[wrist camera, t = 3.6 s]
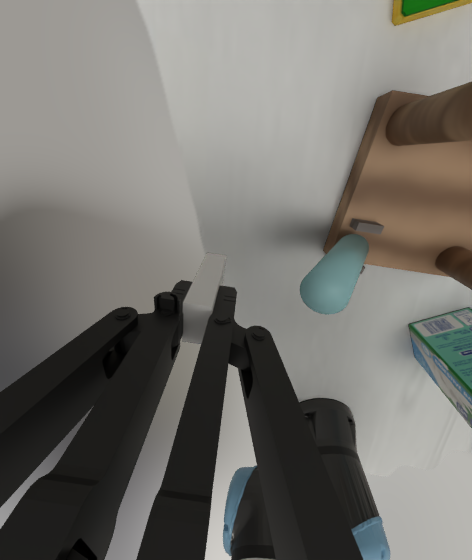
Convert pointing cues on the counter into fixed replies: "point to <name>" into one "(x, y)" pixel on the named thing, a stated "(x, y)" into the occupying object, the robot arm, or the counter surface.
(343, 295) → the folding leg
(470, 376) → the milk carton
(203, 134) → the counter surface
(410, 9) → the dish sponge
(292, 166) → the counter surface
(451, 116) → the walnut stool
